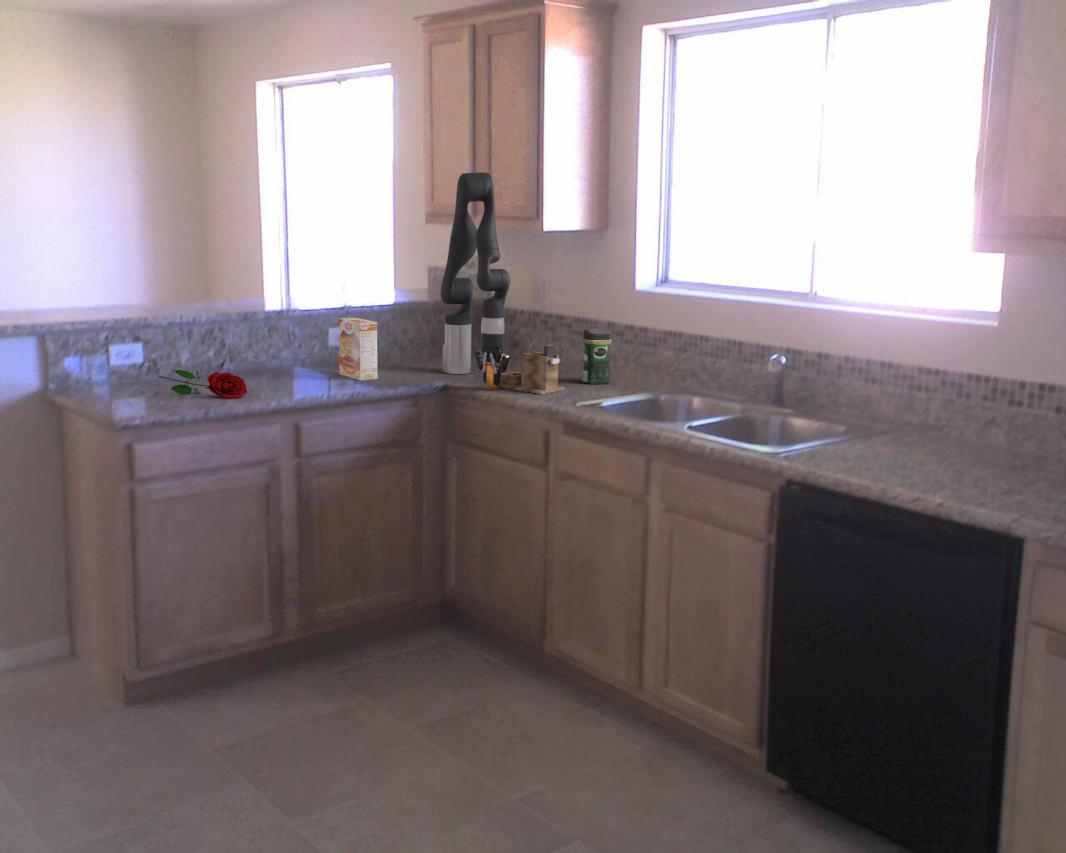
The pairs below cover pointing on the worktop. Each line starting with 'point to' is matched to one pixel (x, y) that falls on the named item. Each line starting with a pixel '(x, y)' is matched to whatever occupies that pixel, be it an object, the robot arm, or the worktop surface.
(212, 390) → the flower
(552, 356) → the grey angular block
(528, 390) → the mount
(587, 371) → the coffee jar
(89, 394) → the worktop surface
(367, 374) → the coffeecake box
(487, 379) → the peg
